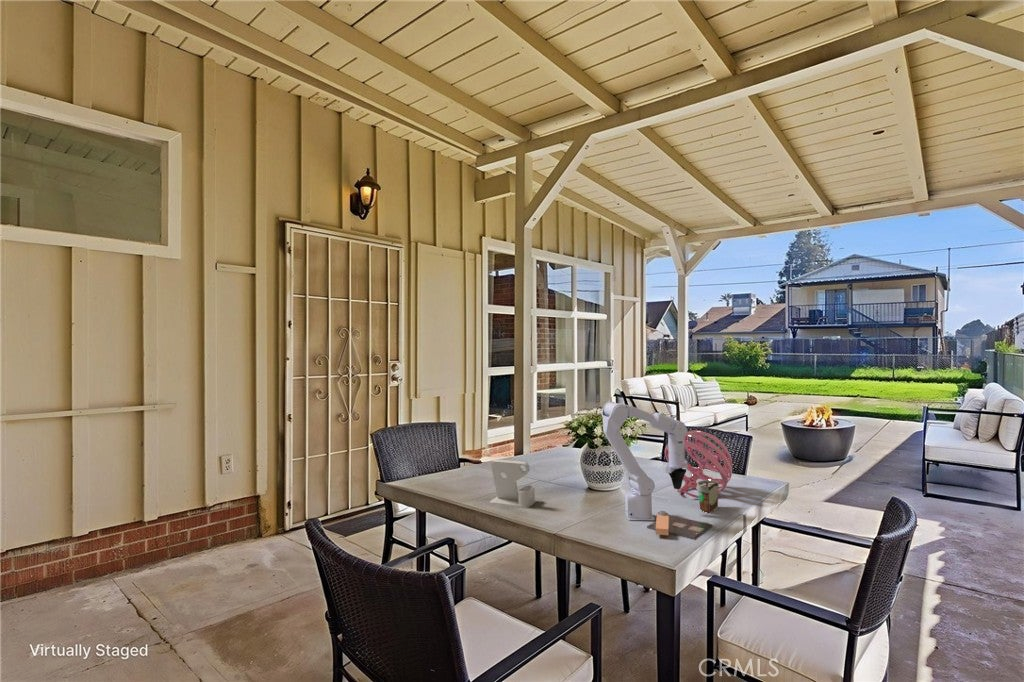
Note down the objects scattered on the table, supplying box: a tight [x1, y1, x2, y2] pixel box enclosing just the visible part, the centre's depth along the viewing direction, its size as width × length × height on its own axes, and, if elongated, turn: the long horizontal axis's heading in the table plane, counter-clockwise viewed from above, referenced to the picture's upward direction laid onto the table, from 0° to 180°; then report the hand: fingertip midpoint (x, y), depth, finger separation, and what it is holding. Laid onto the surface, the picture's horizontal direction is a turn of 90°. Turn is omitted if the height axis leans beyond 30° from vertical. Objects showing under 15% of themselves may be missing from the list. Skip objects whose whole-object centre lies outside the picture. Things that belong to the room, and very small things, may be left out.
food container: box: [695, 480, 720, 514], centre depth 197 cm, size 12×6×10 cm, turn 141°
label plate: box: [646, 514, 713, 540], centre depth 178 cm, size 16×17×1 cm
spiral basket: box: [664, 430, 733, 499], centre depth 216 cm, size 28×28×27 cm
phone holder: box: [489, 459, 537, 509], centre depth 210 cm, size 17×10×18 cm, turn 66°
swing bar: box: [655, 510, 670, 536], centre depth 176 cm, size 17×4×3 cm, turn 163°
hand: (677, 488), depth 192 cm, fingers closed
